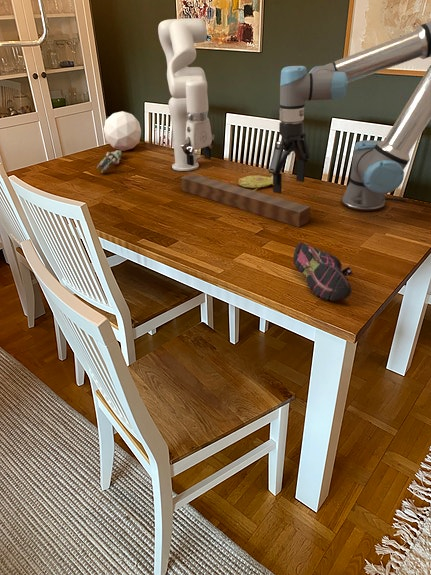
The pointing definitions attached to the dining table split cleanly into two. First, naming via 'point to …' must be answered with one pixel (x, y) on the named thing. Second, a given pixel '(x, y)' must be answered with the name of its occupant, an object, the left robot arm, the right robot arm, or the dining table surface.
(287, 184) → the dining table surface
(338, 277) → the athletic shoe
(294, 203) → the beam
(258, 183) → the decorative object
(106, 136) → the sphere
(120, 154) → the figurine
